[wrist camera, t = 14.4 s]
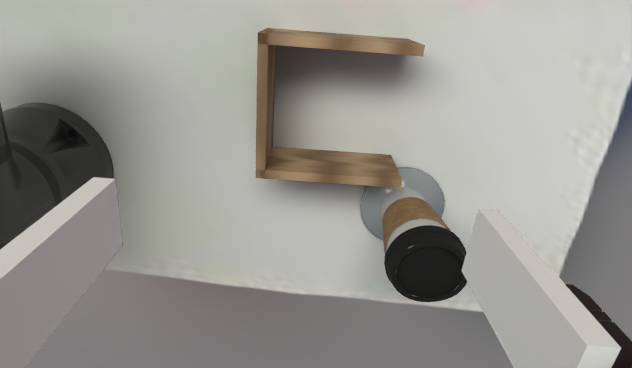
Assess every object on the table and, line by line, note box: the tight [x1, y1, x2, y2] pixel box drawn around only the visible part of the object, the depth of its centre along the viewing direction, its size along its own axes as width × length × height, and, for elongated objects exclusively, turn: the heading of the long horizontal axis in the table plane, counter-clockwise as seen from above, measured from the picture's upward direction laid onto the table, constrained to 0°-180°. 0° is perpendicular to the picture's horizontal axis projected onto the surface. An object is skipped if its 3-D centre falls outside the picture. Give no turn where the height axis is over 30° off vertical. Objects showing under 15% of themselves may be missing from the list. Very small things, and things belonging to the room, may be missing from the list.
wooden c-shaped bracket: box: [256, 28, 425, 188], centre depth 46 cm, size 16×15×8 cm
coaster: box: [361, 167, 444, 240], centre depth 55 cm, size 11×11×1 cm
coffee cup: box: [381, 187, 467, 302], centre depth 48 cm, size 8×8×15 cm
